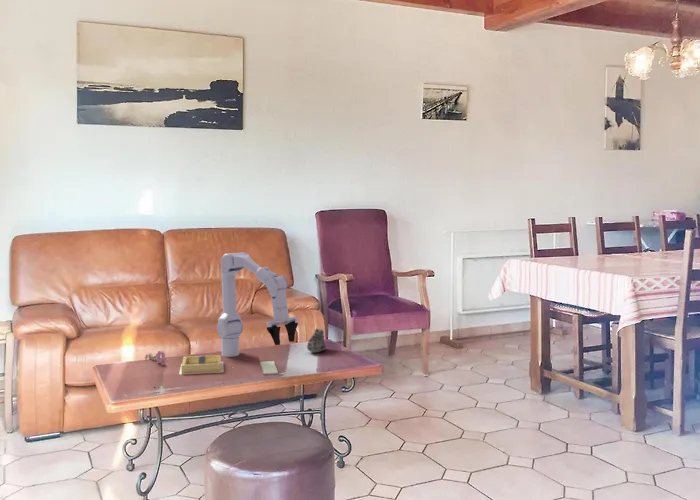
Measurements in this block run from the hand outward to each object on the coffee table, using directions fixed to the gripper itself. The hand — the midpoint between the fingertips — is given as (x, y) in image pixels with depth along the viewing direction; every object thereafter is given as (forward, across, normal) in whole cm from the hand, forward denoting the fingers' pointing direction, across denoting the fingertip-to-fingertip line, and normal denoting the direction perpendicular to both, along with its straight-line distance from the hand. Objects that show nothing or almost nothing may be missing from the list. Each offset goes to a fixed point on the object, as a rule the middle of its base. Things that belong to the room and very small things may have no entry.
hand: (284, 343), depth 249 cm
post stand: (+7, -21, +24) cm, 33 cm away
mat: (+9, -7, +13) cm, 17 cm away
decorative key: (+3, -26, +49) cm, 55 cm away
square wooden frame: (+5, -21, +24) cm, 33 cm away
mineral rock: (+9, +31, +14) cm, 35 cm away
